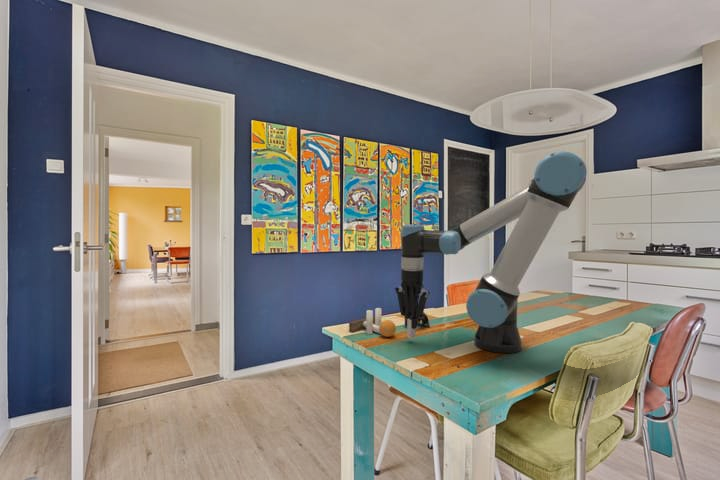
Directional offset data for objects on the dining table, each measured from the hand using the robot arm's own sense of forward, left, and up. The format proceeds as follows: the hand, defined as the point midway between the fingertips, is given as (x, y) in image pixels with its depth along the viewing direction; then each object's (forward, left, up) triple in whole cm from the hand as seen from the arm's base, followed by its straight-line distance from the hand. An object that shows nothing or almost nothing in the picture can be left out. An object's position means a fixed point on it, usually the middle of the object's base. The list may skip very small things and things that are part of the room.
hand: (411, 336), depth 126 cm
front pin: (+13, 0, -1) cm, 13 cm away
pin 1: (+17, +2, -2) cm, 17 cm away
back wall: (+23, 0, -2) cm, 23 cm away
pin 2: (+17, -3, -2) cm, 17 cm away
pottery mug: (+10, -19, -2) cm, 21 cm away
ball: (+10, +1, +1) cm, 10 cm away
